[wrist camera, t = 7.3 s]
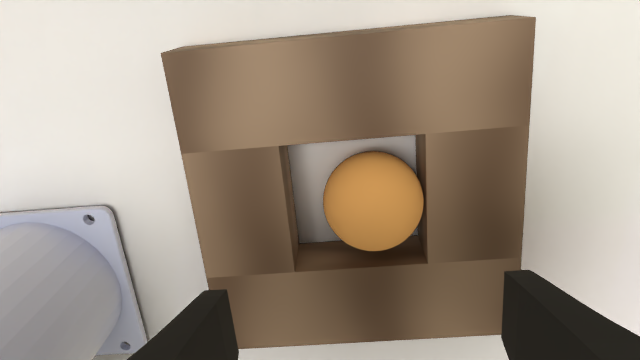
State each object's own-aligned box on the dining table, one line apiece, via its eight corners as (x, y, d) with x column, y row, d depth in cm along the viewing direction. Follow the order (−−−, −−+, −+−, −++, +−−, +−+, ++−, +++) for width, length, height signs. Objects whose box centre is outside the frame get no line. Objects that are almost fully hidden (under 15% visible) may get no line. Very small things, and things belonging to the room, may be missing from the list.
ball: (314, 237, 21) (351, 280, 18) (304, 150, 20) (343, 179, 16) (394, 216, 22) (444, 253, 19) (390, 133, 21) (444, 156, 17)
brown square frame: (232, 315, 24) (221, 350, 21) (182, 46, 19) (160, 53, 17) (498, 299, 23) (516, 333, 21) (510, 15, 18) (535, 17, 16)
